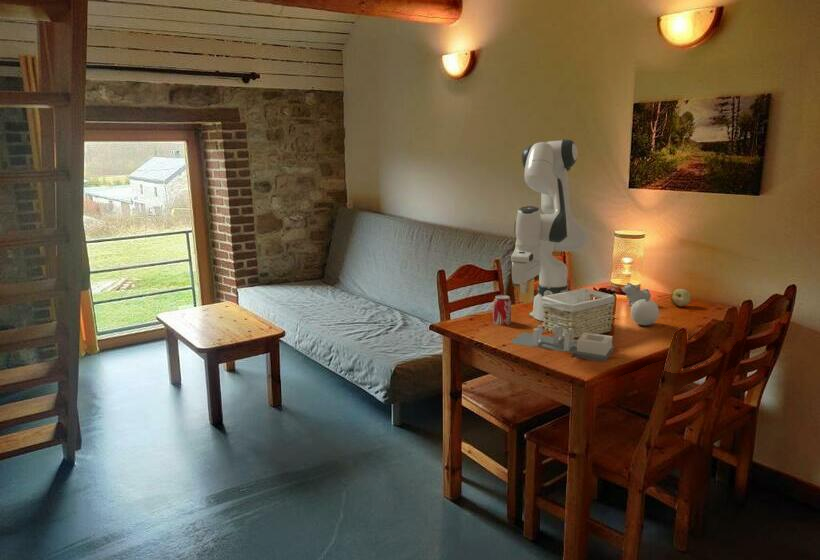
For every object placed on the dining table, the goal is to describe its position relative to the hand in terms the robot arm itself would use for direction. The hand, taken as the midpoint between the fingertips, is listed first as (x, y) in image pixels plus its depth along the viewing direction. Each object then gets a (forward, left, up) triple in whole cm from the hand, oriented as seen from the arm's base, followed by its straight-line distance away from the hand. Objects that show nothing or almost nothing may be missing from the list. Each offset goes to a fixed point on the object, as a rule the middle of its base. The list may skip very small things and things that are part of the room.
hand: (526, 291), depth 215 cm
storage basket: (-20, +13, -19) cm, 31 cm away
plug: (0, -2, -4) cm, 4 cm away
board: (+1, +13, -19) cm, 23 cm away
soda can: (-15, -15, -19) cm, 29 cm away
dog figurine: (-70, +26, -19) cm, 77 cm away
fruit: (-78, +43, -19) cm, 91 cm away
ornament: (-42, +34, -19) cm, 57 cm away
